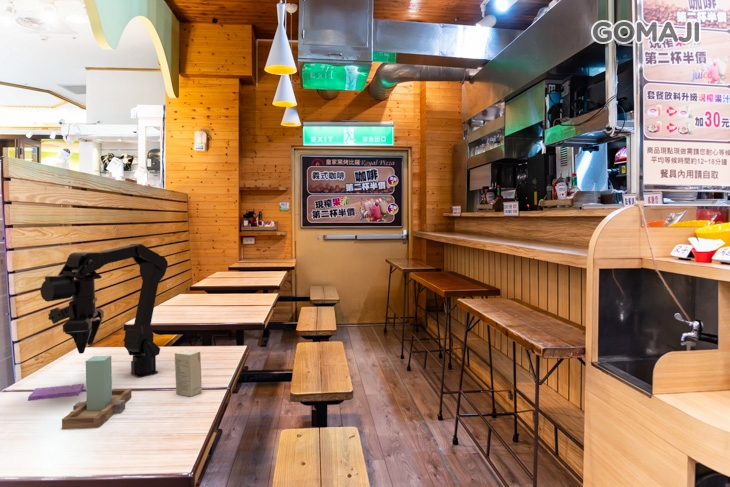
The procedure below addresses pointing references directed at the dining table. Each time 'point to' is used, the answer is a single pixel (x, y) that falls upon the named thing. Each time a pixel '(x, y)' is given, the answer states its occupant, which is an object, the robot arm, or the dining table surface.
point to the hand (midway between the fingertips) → (85, 348)
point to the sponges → (56, 392)
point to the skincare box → (188, 372)
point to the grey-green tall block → (98, 382)
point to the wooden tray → (96, 412)
